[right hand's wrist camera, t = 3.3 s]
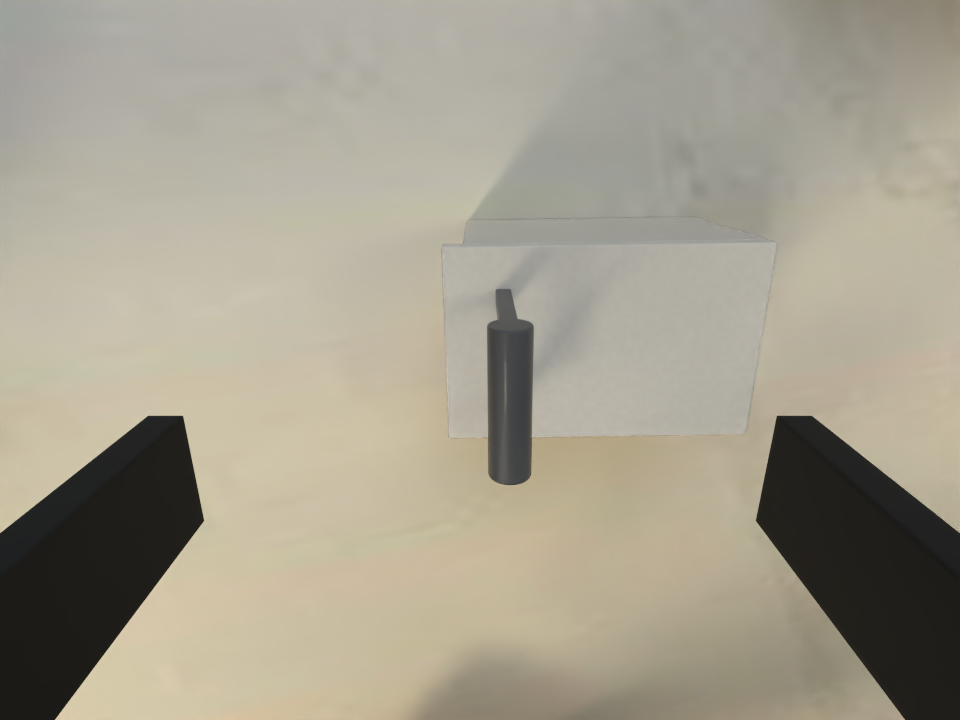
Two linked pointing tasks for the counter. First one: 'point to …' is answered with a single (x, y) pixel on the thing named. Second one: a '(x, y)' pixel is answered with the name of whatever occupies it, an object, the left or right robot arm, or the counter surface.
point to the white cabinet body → (599, 230)
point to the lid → (600, 340)
